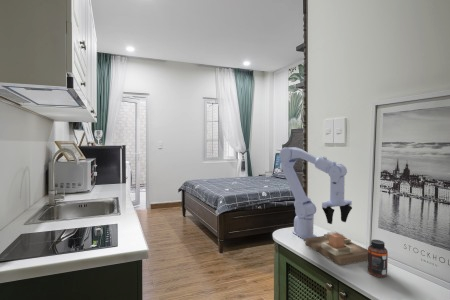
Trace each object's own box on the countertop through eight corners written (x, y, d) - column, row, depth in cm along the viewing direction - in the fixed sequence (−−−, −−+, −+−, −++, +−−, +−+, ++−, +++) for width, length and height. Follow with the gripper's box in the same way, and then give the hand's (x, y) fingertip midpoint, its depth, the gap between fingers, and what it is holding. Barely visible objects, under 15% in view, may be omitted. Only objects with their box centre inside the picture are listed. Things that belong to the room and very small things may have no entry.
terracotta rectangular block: (335, 252, 102) (336, 237, 102) (328, 248, 106) (328, 233, 106) (344, 251, 103) (344, 236, 103) (336, 247, 107) (336, 232, 107)
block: (327, 239, 116) (327, 232, 116) (335, 238, 117) (335, 231, 117) (334, 243, 112) (334, 236, 112) (343, 241, 113) (343, 234, 113)
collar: (321, 247, 107) (321, 242, 107) (337, 245, 109) (337, 240, 109) (335, 255, 99) (335, 250, 99) (352, 252, 102) (352, 247, 102)
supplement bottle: (390, 279, 87) (391, 245, 87) (370, 277, 89) (371, 244, 88) (383, 270, 93) (383, 238, 93) (365, 268, 95) (365, 237, 94)
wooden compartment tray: (305, 244, 117) (305, 235, 117) (334, 239, 122) (334, 231, 122) (340, 265, 97) (340, 254, 97) (373, 258, 102) (373, 248, 102)
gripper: (330, 194, 109) (329, 227, 110) (357, 192, 114) (356, 223, 114) (318, 191, 116) (318, 222, 116) (345, 189, 121) (344, 218, 121)
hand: (336, 222), depth 116 cm, fingers open, 7 cm apart
